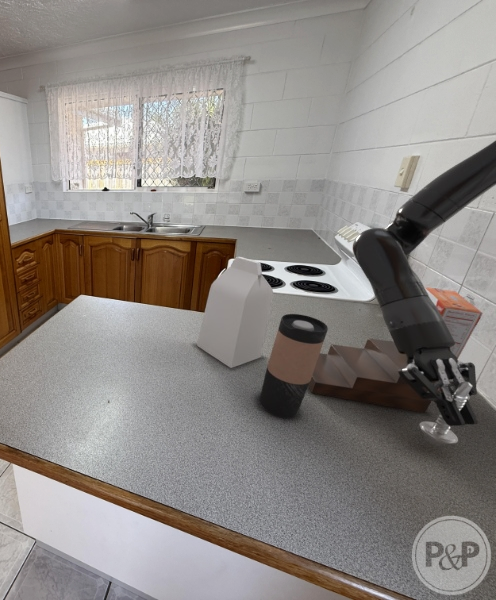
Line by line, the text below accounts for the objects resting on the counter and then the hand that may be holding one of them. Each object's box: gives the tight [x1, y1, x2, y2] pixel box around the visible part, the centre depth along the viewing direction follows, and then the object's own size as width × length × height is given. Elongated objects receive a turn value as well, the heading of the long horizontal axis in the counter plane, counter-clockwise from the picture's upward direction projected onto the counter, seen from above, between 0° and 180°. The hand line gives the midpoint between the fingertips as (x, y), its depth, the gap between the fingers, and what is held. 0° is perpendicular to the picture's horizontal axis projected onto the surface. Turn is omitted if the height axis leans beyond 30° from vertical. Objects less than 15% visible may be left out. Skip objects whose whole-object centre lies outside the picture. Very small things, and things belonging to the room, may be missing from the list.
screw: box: [418, 382, 472, 447], centre depth 53 cm, size 13×5×5 cm
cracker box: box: [424, 286, 484, 393], centre depth 73 cm, size 14×6×21 cm, turn 149°
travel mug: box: [259, 313, 329, 419], centre depth 62 cm, size 8×8×20 cm
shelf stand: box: [308, 337, 439, 414], centre depth 72 cm, size 21×14×9 cm, turn 74°
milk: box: [196, 256, 274, 369], centre depth 81 cm, size 12×12×26 cm
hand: (462, 424), depth 52 cm, fingers closed on screw, 2 cm apart
